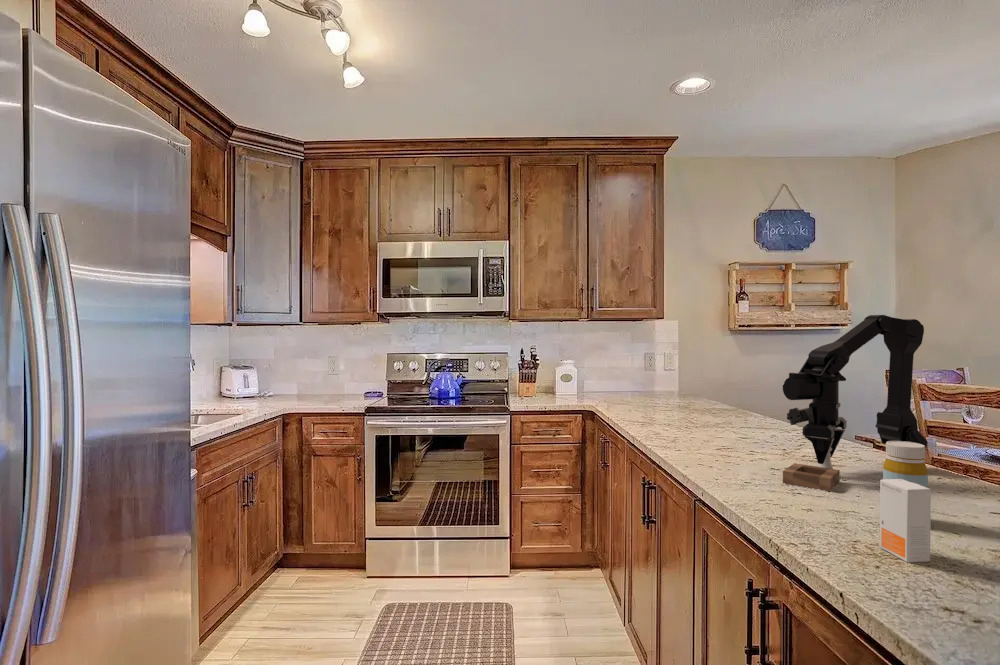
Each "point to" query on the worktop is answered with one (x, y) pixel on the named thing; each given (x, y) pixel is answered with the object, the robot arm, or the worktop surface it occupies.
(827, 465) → the rook chess piece
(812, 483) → the socket
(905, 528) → the skincare box
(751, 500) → the worktop surface
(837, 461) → the worktop surface
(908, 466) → the bottle
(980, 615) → the worktop surface
